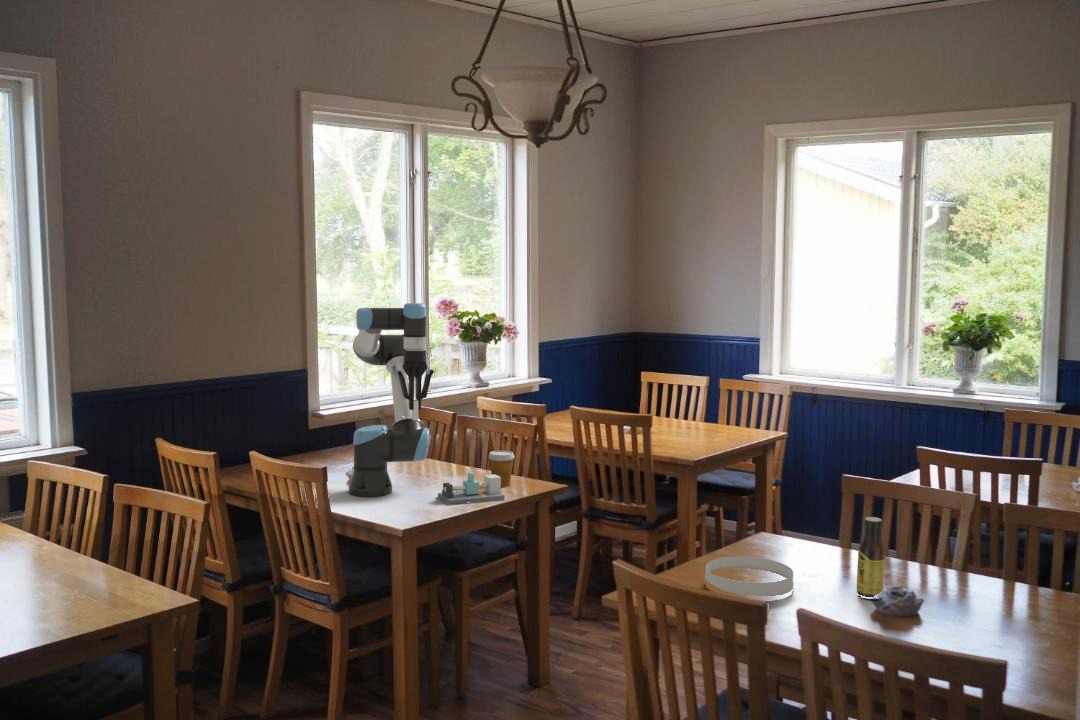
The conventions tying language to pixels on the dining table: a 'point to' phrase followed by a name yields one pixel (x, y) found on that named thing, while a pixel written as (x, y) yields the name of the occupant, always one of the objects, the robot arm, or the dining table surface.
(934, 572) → the dining table surface
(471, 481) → the sleeve
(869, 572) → the sauce bottle
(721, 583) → the ring
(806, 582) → the dining table surface
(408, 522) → the dining table surface
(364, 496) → the robot arm
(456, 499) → the cable board
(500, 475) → the disposable coffee cup
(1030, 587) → the dining table surface
